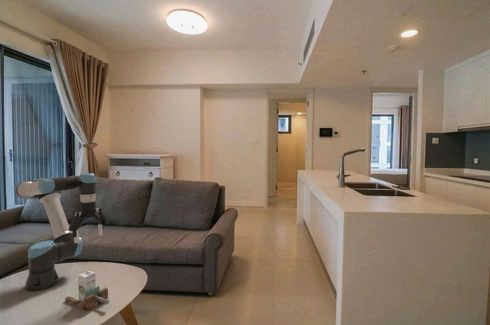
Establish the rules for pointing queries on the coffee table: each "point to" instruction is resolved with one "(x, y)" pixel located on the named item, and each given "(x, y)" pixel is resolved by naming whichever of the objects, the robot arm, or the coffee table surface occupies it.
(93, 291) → the pusher
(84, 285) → the syrup box
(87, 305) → the lane
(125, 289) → the coffee table surface
